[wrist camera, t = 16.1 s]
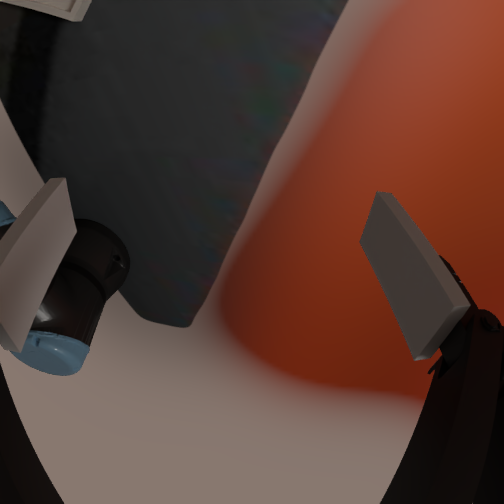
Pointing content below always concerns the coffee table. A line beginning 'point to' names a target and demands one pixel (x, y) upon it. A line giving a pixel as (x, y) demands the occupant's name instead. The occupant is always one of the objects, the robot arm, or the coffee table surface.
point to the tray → (56, 7)
